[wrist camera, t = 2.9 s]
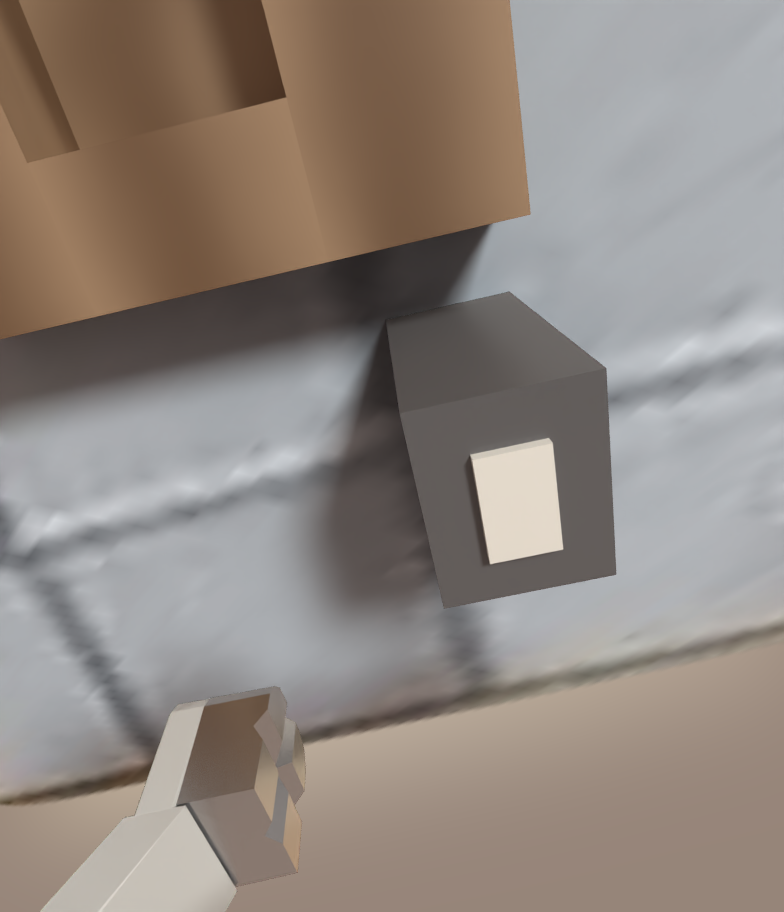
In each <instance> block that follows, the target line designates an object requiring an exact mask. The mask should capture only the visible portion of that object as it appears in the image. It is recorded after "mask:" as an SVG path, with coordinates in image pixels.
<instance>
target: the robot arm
mask: <svg viewBox="0 0 784 912" xmlns="http://www.w3.org/2000/svg"><path fill="white" fill-rule="evenodd" d="M286 708H287V701H286V699H285V697H284V695H283V693H282V691H281V689H280V687H275V686H273V687H268V688H262V689H257V690H251V691H246V692H240V693H235V694H229V695H224V696H218V697H213V698H210V699H206V700H200V701H195V702H189V703H184V704H178V705H177V706H176V707H175V709H174V710H173V711H172V712H171V714H170V715H169V718H168V721H167V724H166V727H165V729H164V732H163V735H162V738H161V741H160V744H159V746H158V749H157V752H156V755H155V758H154V761H153V764H152V766H151V769H150V772H149V775H148V778H147V781H146V783H145V786H144V789H143V792H142V795H141V798H140V801H139V804H138V806H137V809H136V812H135V815H134V816H129V817H125V818H123V819H122V820H121V821H120V822H119V824H118V825H117V826H116V827H115V828H114V829H113V830H112V831H111V832H110V834H109V835H108V836H107V837H106V838H105V839H104V840H103V841H102V843H101V844H100V845H99V846H98V847H97V848H96V849H95V850H94V851H93V853H92V854H91V855H90V856H89V857H88V858H87V859H86V860H85V862H84V863H83V864H82V865H81V866H80V867H79V868H78V869H77V870H76V871H75V873H74V874H73V875H72V876H71V877H70V878H69V879H68V880H67V882H66V883H65V884H64V885H63V886H62V887H61V888H60V889H59V891H58V892H57V893H56V894H55V895H54V896H53V897H52V898H51V900H50V901H49V902H48V903H47V904H46V905H45V906H44V907H43V908H42V909H41V911H40V912H226V910H227V909H228V907H229V905H230V903H231V902H232V900H233V898H234V896H235V894H236V893H237V889H236V887H237V886H242V885H246V884H250V883H255V882H259V881H263V880H268V879H272V878H276V877H281V876H285V875H290V874H294V873H298V862H299V849H300V839H301V826H302V821H301V819H300V817H299V815H298V812H297V810H296V808H295V806H294V805H295V804H296V802H297V801H298V799H299V798H300V796H301V795H302V793H303V792H304V789H305V774H306V768H305V754H304V747H303V743H302V738H301V734H300V732H299V729H298V727H297V725H296V723H295V722H293V721H291V720H290V719H288V718H286V717H285V716H286Z"/></svg>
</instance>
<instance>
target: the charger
mask: <svg viewBox="0 0 784 912" xmlns="http://www.w3.org/2000/svg"><path fill="white" fill-rule="evenodd" d="M386 326H387V332H388V339H389V346H390V353H391V359H392V366H393V373H394V380H395V387H396V393H397V400H398V407H399V414H400V418H401V422H402V427H403V431H404V435H405V440H406V444H407V449H408V453H409V457H410V462H411V466H412V471H413V475H414V479H415V484H416V488H417V492H418V497H419V501H420V506H421V510H422V514H423V519H424V523H425V527H426V532H427V536H428V541H429V545H430V549H431V554H432V558H433V563H434V567H435V571H436V576H437V580H438V584H439V589H440V593H441V598H442V602H443V606H444V609H445V608H450V607H455V606H460V605H465V604H470V603H475V602H480V601H486V600H491V599H496V598H501V597H506V596H511V595H516V594H521V593H526V592H531V591H536V590H541V589H546V588H551V587H556V586H561V585H566V584H571V583H576V582H581V581H587V580H592V579H597V578H602V577H607V576H612V575H616V559H615V538H614V517H613V497H612V476H611V455H610V435H609V414H608V393H607V373H606V368H605V367H604V366H603V365H602V364H600V363H599V362H598V361H597V360H595V359H594V358H593V357H591V356H590V355H589V354H588V353H586V352H585V351H584V350H583V349H581V348H580V347H579V346H578V345H576V344H575V343H574V342H572V341H571V340H570V339H569V338H567V337H566V336H565V335H564V334H562V333H561V332H560V331H559V330H557V329H556V328H555V327H553V326H552V325H551V324H550V323H548V322H547V321H546V320H545V319H543V318H542V317H541V316H539V315H538V314H537V313H536V312H534V311H533V310H532V309H531V308H529V307H528V306H527V305H526V304H524V303H523V302H522V301H520V300H519V299H518V298H517V297H515V296H514V295H513V294H512V293H510V292H505V293H501V294H497V295H492V296H488V297H483V298H479V299H475V300H470V301H466V302H462V303H457V304H453V305H448V306H444V307H440V308H435V309H431V310H427V311H422V312H418V313H413V314H409V315H405V316H400V317H396V318H392V319H387V320H386Z"/></svg>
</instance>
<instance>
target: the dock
mask: <svg viewBox="0 0 784 912" xmlns="http://www.w3.org/2000/svg"><path fill="white" fill-rule="evenodd" d="M526 215H530V204H529V194H528V183H527V173H526V163H525V153H524V143H523V132H522V122H521V112H520V102H519V92H518V82H517V71H516V61H515V51H514V41H513V31H512V20H511V10H510V0H0V339H4V338H8V337H12V336H17V335H21V334H25V333H29V332H33V331H38V330H42V329H46V328H50V327H55V326H59V325H63V324H67V323H72V322H76V321H80V320H84V319H89V318H93V317H97V316H101V315H106V314H110V313H114V312H118V311H123V310H127V309H131V308H135V307H140V306H144V305H148V304H152V303H157V302H161V301H165V300H169V299H174V298H178V297H182V296H186V295H191V294H195V293H199V292H203V291H207V290H212V289H216V288H220V287H224V286H229V285H233V284H237V283H241V282H246V281H250V280H254V279H258V278H263V277H267V276H271V275H275V274H280V273H284V272H288V271H292V270H297V269H301V268H305V267H309V266H314V265H318V264H322V263H326V262H331V261H335V260H339V259H343V258H348V257H352V256H356V255H360V254H364V253H369V252H373V251H377V250H381V249H386V248H390V247H394V246H398V245H403V244H407V243H411V242H415V241H420V240H424V239H428V238H432V237H437V236H441V235H445V234H449V233H454V232H458V231H462V230H466V229H471V228H475V227H479V226H483V225H488V224H492V223H496V222H500V221H505V220H509V219H513V218H517V217H522V216H526Z"/></svg>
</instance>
